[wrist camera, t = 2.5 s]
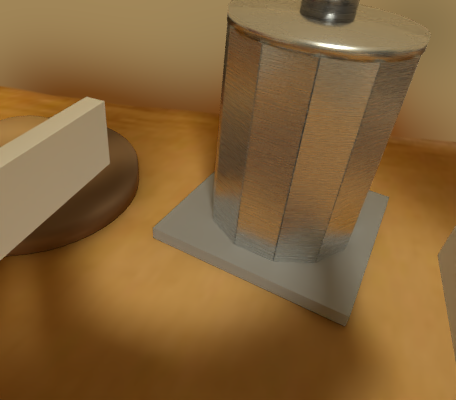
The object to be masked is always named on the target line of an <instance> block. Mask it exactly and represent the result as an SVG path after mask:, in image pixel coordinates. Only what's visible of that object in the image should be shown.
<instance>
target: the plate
mask: <svg viewBox="0 0 456 400" xmlns="http://www.w3.org/2000/svg"><path fill="white" fill-rule="evenodd" d="M107 136H108V147H109V158H110V164H109V165H108V166H106V167H105V168H104V169H103V170H102V171H101V172H100V173H98V174H97V175H96V176H95V177H94V178H93V179H92V180H91V181H89V182H88V183H87V184H86V185H85V186H84V187H83V188H82V189H80V190H79V191H78V192H77V193H76V194H75V195H74V196H72V197H71V198H70V199H69V200H68V201H67V202H66V203H65V204H63V205H62V206H61V207H60V208H59V209H58V210H57V211H56V212H54V213H53V214H52V215H51V216H50V217H49V218H48V219H46V220H45V221H44V222H43V223H42V224H41V225H40V226H39V227H37V228H36V229H35V230H34V231H33V232H32V233H31V234H29V235H28V236H27V237H26V238H25V239H24V240H23V241H22V242H20V243H19V244H18V245H17V246H16V247H15V248H14V249H13V250H11V251H10V252H9V253H8V254H7V255H6V256H12V255H23V254H30V253H36V252H41V251H46V250H50V249H54V248H58V247H61V246H64V245H67V244H70V243H73V242H76V241H78V240H80V239H83V238H85V237H87V236H89V235H91V234H93V233H95V232H97V231H99V230H100V229H102V228H104V227H105V226H107V225H108V224H110V223H111V222H112V221H114V220H115V219H116V218H117V217H118V216H119V215H121V214H122V213H123V212H124V211H125V210H126V208H127V207H128V206H129V205H130V203H131V202H132V200H133V198H134V197H135V194H136V192H137V189H138V183H139V176H138V161H137V155H136V152H135V150H134V148H133V147H132V145H131V144H130V143H129V142H128V141H127V140H126V139H125V138H124V137H123V136H121V135H120V134H118V133H117V132H115V131H113V130H111V129H109V128H107Z"/></svg>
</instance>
